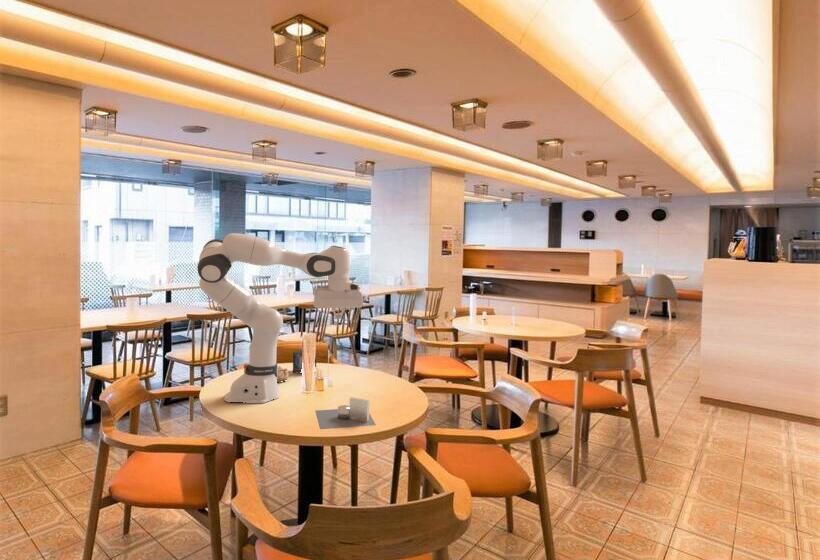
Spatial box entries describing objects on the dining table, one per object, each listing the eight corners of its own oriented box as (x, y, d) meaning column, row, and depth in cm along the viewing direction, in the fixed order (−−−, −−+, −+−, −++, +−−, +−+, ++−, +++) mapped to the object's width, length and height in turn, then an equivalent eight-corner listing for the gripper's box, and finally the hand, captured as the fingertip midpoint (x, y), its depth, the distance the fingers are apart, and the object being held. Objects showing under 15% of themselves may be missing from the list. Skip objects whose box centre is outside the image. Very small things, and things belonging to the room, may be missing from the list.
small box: (291, 372, 256) (292, 352, 255) (299, 369, 262) (299, 349, 261) (310, 375, 252) (310, 354, 251) (316, 372, 258) (317, 351, 257)
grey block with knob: (335, 417, 188) (335, 397, 187) (342, 413, 193) (342, 394, 192) (364, 423, 183) (365, 402, 182) (371, 419, 187) (371, 398, 187)
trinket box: (291, 382, 238) (291, 366, 238) (259, 386, 230) (259, 369, 230) (282, 375, 249) (282, 360, 249) (251, 379, 241) (251, 363, 241)
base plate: (320, 431, 177) (320, 428, 177) (315, 413, 196) (315, 409, 196) (376, 427, 182) (376, 424, 182) (365, 409, 202) (365, 406, 202)
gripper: (313, 285, 202) (313, 320, 203) (364, 286, 208) (363, 319, 209) (312, 284, 208) (312, 317, 209) (361, 284, 214) (360, 317, 215)
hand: (338, 318), depth 209 cm, fingers closed
